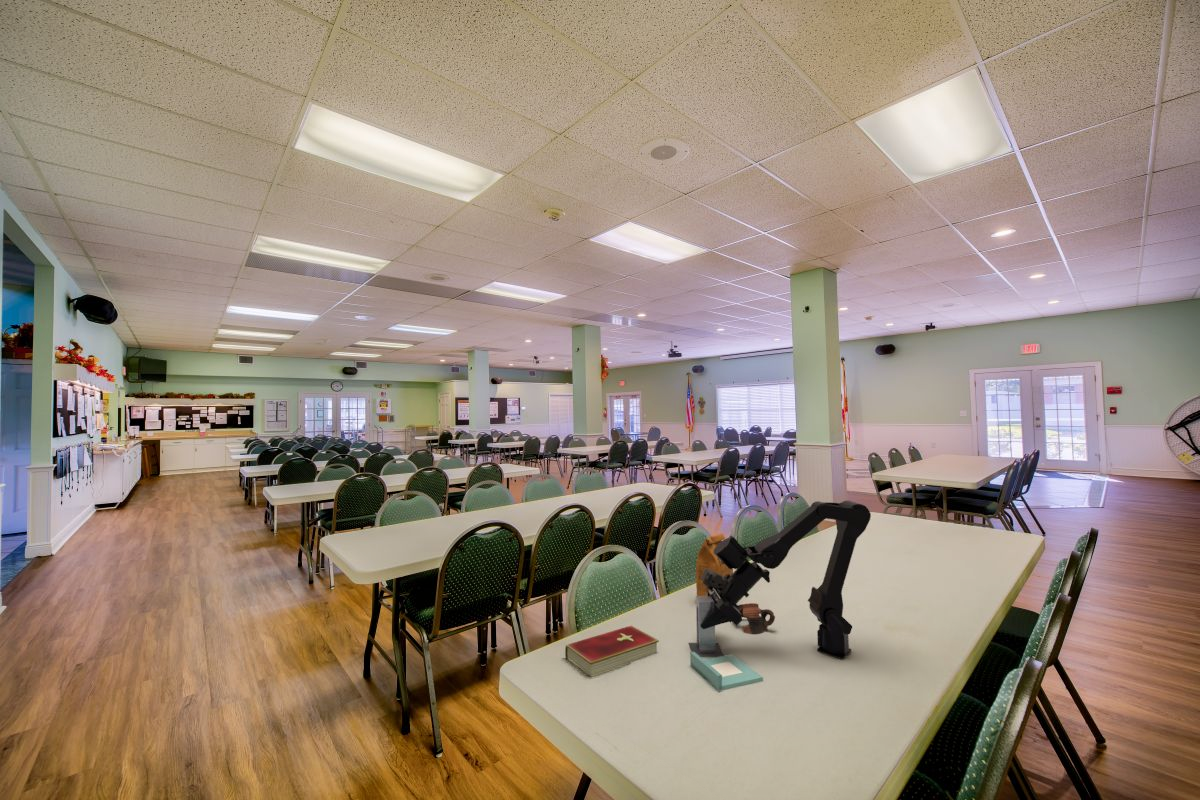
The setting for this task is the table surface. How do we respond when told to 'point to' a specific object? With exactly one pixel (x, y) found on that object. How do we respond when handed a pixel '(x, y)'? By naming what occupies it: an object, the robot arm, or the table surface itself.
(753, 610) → the pottery mug
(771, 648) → the table surface
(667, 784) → the table surface
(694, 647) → the mat
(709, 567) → the coffee package
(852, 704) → the table surface
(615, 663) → the hardcover book
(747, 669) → the teal base plate
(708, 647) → the grey tower block
